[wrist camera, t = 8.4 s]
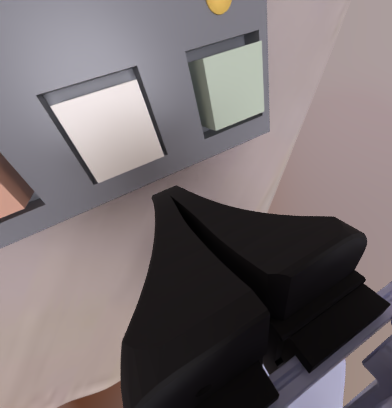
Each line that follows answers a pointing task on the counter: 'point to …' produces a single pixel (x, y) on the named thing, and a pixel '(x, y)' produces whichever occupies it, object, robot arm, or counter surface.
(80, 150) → the cream key
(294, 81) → the counter surface
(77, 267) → the counter surface
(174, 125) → the keypad
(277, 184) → the counter surface
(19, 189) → the terracotta key
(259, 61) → the sage key
